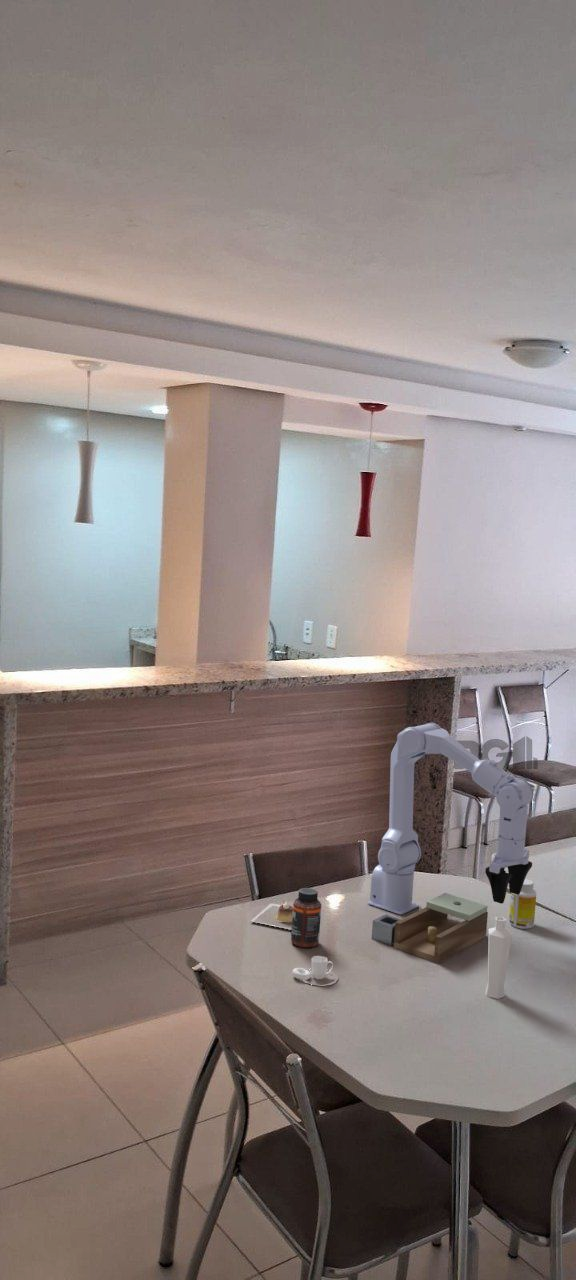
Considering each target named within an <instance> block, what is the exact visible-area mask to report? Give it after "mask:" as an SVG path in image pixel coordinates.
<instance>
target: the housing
mask: <svg viewBox="0 0 576 1280" xmlns="http://www.w3.org/2000/svg"><path fill="white" fill-rule="evenodd" d="M488 913H489V912H488V911H487V912H485V913H483V914H482V915H480V916H478V917H476V918H474V919H472V920H471V921H467V920H463V921H461V922H460V921H456V920H454V919H450V918H449V917H448V914H445V913H442V912H439V911H436V910H433V909H430V908H427V907H424V908H422V909H419V910H418V911H416V912H414V913H411V914H410V915H408V916H406V917H403V918H400V919H401V920H399V921H397V922H395V936H394V944H393V948H395V949H397V950H399V951H402V952H405V953H409V954H411V955H414V956H416V957H418V958H419V957H420V958H421V959H425V960H426V961H430V962H433V963H436V964H438V965H439V964H441V963H442V962H444V961H446V960H448V959H450V958H451V957H453V956H454V955H457V954H458V953H459V952H461V951H463V950H465V949H467V948H469V947H470V946H472V945H473V944H475V943H478V942H479V941H480V940H482V939H484V938H486V937H487V930H488V929H487V928H488V915H489V914H488Z"/></svg>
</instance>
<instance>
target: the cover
mask: <svg viewBox="0 0 576 1280" xmlns="http://www.w3.org/2000/svg"><path fill="white" fill-rule="evenodd" d="M426 907H427V908H430V909H433V910H436V911H439V912H442V913H445V914H448V915H449V916H451V917H455V918H457V919H460V920H463V921H465V920H467V921H471V920H472V919H474V918H476V917H478V916H480V915H482V914H483V913H485V912H488V907H489V906H488V905H486V904H483V903H479V902H476V901H473V900H471V899H466V898H464V897H461V896H457V895H453V894H450V893H447V892H443V894H440V895H438V896H435V897H434V898H432V899H429V900H427V901H426ZM426 907H425V908H426Z"/></svg>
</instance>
